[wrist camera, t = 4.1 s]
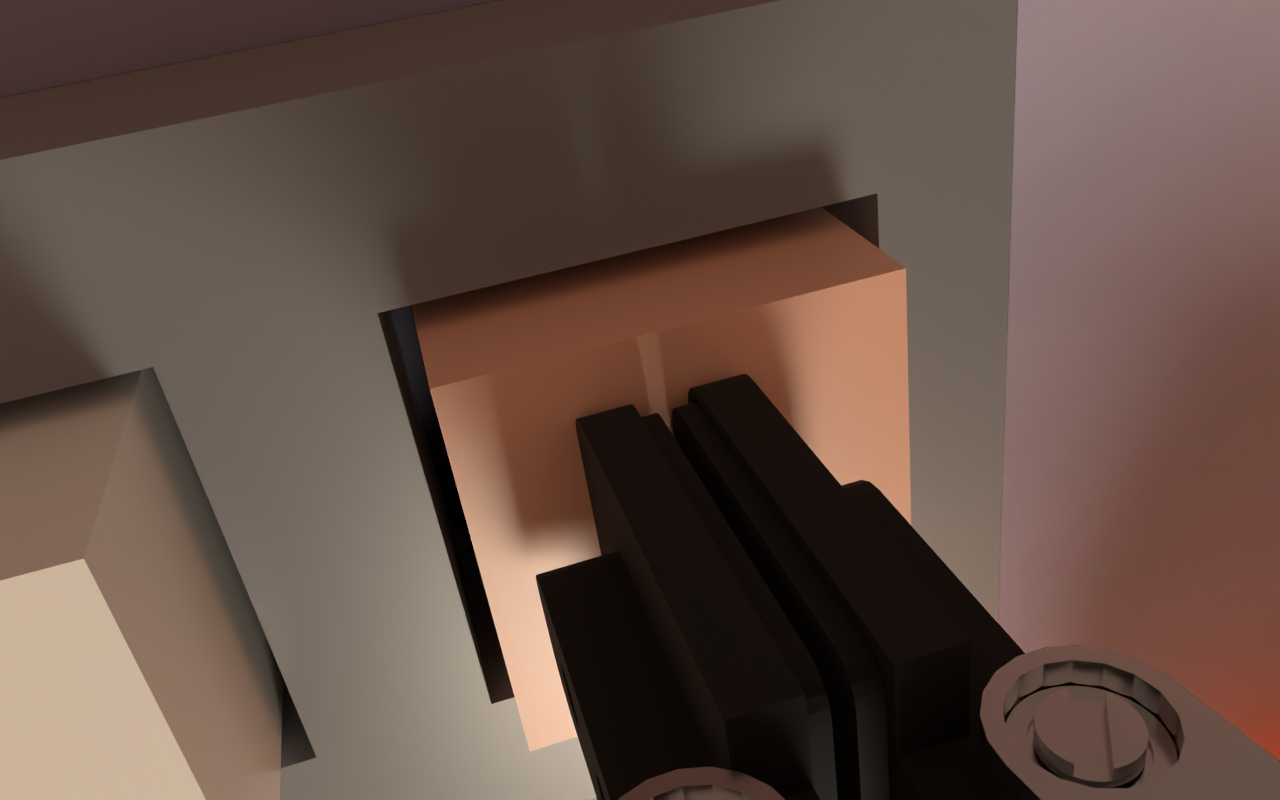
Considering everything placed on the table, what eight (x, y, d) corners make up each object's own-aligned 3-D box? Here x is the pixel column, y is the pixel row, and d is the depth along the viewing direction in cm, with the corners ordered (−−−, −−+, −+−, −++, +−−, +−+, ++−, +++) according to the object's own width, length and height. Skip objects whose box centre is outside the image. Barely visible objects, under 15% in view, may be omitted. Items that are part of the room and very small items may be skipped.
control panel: (873, -73, 12) (1019, -48, 10) (892, 540, 17) (996, 666, 14) (-1568, 404, 9) (-2326, 635, 6) (-730, 1025, 13) (-975, 1307, 11)
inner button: (750, 155, 13) (905, 268, 10) (778, 454, 15) (912, 630, 12) (396, 237, 12) (430, 388, 9) (477, 537, 15) (530, 750, 11)
